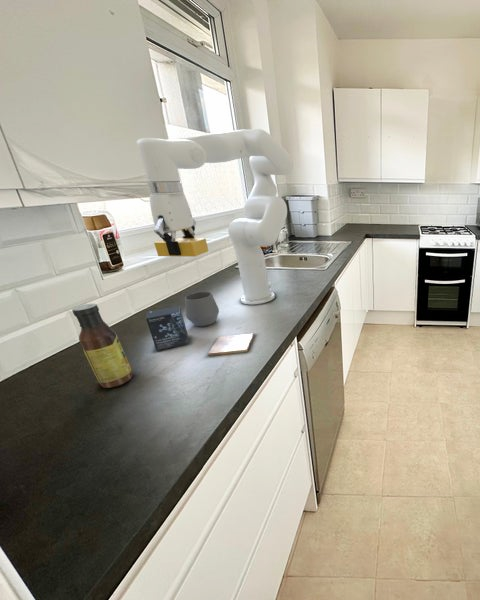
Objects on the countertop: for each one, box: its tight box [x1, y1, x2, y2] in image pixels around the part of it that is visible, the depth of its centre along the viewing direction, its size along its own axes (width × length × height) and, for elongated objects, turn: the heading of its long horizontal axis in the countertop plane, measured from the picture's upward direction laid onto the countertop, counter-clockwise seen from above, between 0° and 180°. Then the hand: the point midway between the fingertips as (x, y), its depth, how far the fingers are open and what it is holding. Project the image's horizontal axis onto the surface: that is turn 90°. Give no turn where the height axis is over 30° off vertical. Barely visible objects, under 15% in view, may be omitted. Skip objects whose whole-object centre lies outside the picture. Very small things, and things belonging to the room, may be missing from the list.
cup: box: [184, 291, 220, 327], centre depth 104 cm, size 10×9×10 cm
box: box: [145, 305, 190, 352], centre depth 91 cm, size 8×6×11 cm
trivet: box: [207, 332, 255, 357], centre depth 92 cm, size 10×10×1 cm
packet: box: [153, 237, 209, 257], centre depth 92 cm, size 6×11×4 cm, turn 88°
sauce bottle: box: [71, 303, 133, 389], centre depth 72 cm, size 7×6×20 cm
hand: (183, 251), depth 93 cm, fingers closed on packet, 6 cm apart
